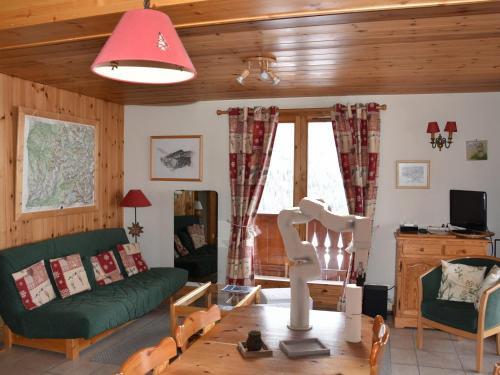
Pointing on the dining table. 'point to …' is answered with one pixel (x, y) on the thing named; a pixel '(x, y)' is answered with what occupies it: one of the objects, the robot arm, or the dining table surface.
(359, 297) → the cylindrical container
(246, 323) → the dining table surface
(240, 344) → the tray
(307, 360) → the dining table surface
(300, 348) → the tray
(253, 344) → the mate gourd
